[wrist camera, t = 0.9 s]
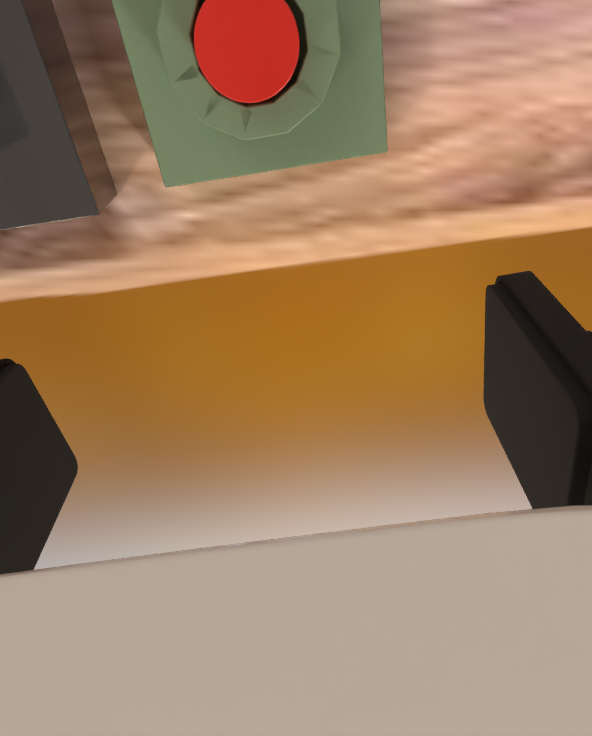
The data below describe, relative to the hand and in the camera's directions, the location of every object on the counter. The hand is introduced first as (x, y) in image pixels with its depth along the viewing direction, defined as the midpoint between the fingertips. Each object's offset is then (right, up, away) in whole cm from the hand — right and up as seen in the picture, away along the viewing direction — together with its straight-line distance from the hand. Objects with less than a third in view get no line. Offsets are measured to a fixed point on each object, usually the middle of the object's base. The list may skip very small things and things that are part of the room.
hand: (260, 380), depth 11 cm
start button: (-1, +12, +9) cm, 15 cm away
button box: (-1, +14, +12) cm, 18 cm away
